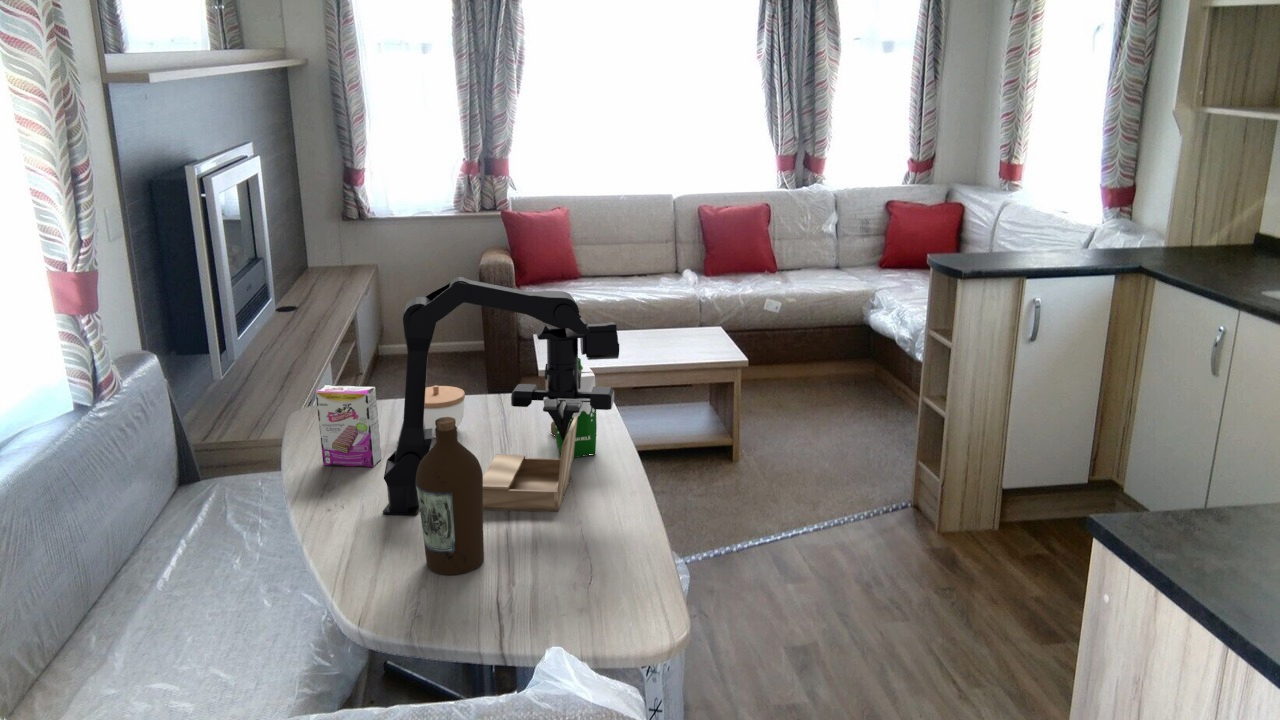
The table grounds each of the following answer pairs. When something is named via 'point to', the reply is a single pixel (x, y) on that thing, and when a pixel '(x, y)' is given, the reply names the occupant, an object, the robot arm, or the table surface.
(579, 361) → the milk carton
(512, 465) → the flap
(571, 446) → the flap
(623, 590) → the table surface
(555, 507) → the wooden box
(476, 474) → the olive oil
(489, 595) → the table surface
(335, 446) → the candy bar box
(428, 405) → the lidded bowl
